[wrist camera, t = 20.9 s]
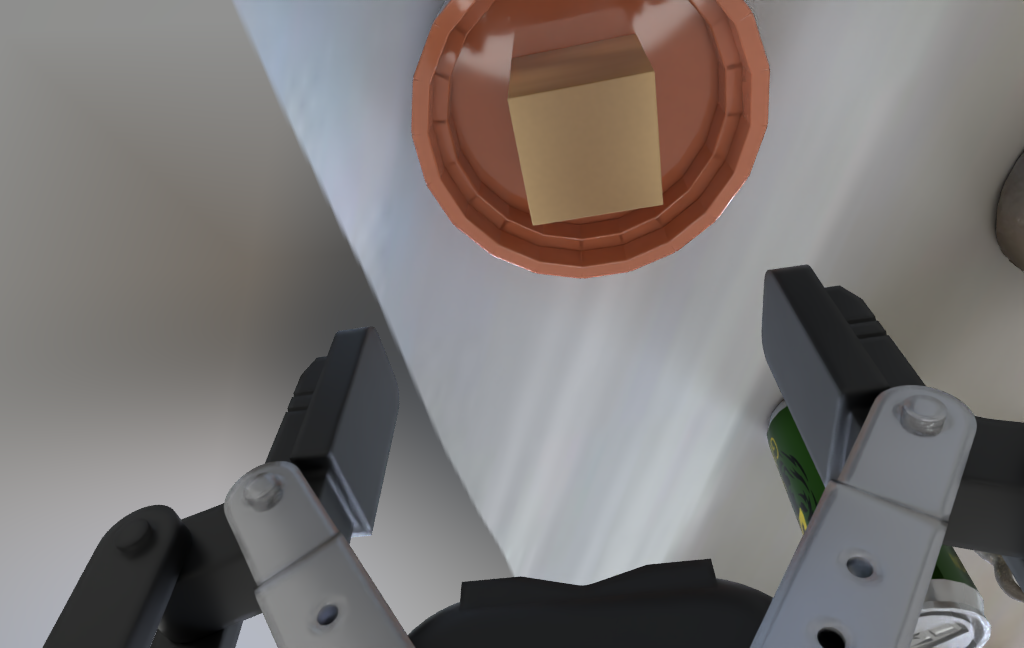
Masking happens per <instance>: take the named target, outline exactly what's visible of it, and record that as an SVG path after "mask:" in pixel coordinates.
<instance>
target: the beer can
mask: <svg viewBox="0 0 1024 648" xmlns="http://www.w3.org/2000/svg"><path fill="white" fill-rule="evenodd" d="M767 438H768V443H769V447H770V449H771V452H772V454H773V457H774V460H775V462H776V465H777V468H778V470H779V473H780V475H781V478H782V481H783V483H784V486H785V489H786V491H787V494H788V496H789V499H790V502H791V504H792V507H793V510H794V512H795V515H796V517H797V520H798V523H799V525H800V528H801V531H802V533H803V534H804V532H805V530H806V528H807V526H808V524H809V522H810V520H811V518H812V516H813V513H814V511H815V509H816V507H817V505H818V503H819V501H820V499H821V497H822V494H823V492H824V490H825V486H824V484H823V482H822V480H821V477H820V475H819V473H818V471H817V469H816V467H815V464H814V462H813V460H812V458H811V456H810V454H809V452H808V449H807V447H806V445H805V443H804V441H803V439H802V436H801V434H800V432H799V430H798V428H797V426H796V423H795V421H794V419H793V417H792V415H791V413H790V411H789V408H788V406H787V404H786V402H785V400H784V401H782V402H781V403H780V404H779V405H778V406H777V407H776V409H775V410H774V411H773V413H772V415H771V418H770V422H769V426H768V431H767ZM990 634H991V625H990V624H989V622H988V620H987V619H986V617H985V616H984V600H983V599H982V597H981V595H980V593H979V592H978V590H977V588H976V587H975V585H974V583H973V581H972V580H971V578H970V576H969V575H968V573H967V571H966V569H965V568H964V566H963V564H962V563H961V561H960V559H959V557H958V556H957V554H956V552H955V551H954V549H953V547H952V546H947V545H941V548H940V552H939V555H938V558H937V561H936V565H935V568H934V571H933V574H932V577H931V581H930V584H929V587H928V590H927V593H926V597H925V600H924V603H923V606H922V610H921V613H920V616H919V619H918V622H917V626H916V629H915V632H914V635H913V639H912V642H911V645H910V648H981V647H982V646H983V645H984V644H985V643H986V641H987V640H988V639H989V638H990Z"/></svg>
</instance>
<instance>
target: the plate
mask: <svg viewBox="0 0 1024 648" xmlns="http://www.w3.org/2000/svg"><path fill="white" fill-rule="evenodd" d="M632 34H636V35H637V37H638V39H639V41H640V43H641V45H642V47H643V49H644V51H645V53H646V55H647V57H648V59H649V61H650V63H651V65H652V67H653V69H654V71H655V84H656V100H657V115H658V131H659V146H660V162H661V177H662V193H663V205H658V206H652V207H646V208H639V209H633V210H627V211H621V212H615V213H608V214H602V215H596V216H590V217H584V218H577V219H571V220H565V221H559V222H553V223H546V224H540V225H533V224H532V220H531V215H530V210H529V205H528V200H527V195H526V190H525V185H524V180H523V175H522V170H521V165H520V160H519V155H518V150H517V145H516V140H515V135H514V130H513V125H512V120H511V115H510V110H509V105H508V100H507V99H508V89H509V79H510V70H511V60H512V58H516V57H521V56H526V55H531V54H536V53H541V52H546V51H551V50H556V49H561V48H566V47H571V46H576V45H581V44H586V43H591V42H596V41H601V40H606V39H611V38H616V37H621V36H627V35H632ZM769 82H770V69H769V63H768V60H767V56H766V53H765V50H764V47H763V44H762V40H761V37H760V34H759V31H758V28H757V24H756V21H755V18H754V15H753V13H752V12H751V9H750V8H749V6H748V5H747V4H746V3H745V1H744V0H446V1H445V2H444V4H443V5H442V7H441V9H440V10H439V12H438V14H437V16H436V18H435V20H434V22H433V24H432V26H431V29H430V32H429V35H428V37H427V40H426V43H425V46H424V48H423V51H422V54H421V57H420V59H419V62H418V65H417V68H416V71H415V73H414V76H413V86H412V122H411V133H412V138H413V142H414V145H415V149H416V152H417V155H418V159H419V162H420V165H421V169H422V172H423V176H424V179H425V182H426V184H427V187H428V188H429V189H430V191H431V192H432V194H433V195H434V197H435V198H436V200H437V201H438V203H439V204H440V206H441V207H442V209H443V210H444V212H445V213H446V214H447V216H448V217H449V219H450V220H451V222H452V223H453V225H455V226H456V227H457V228H458V229H459V230H461V231H462V232H463V233H464V234H466V235H467V236H468V237H469V238H471V239H472V240H473V241H474V242H476V243H477V244H478V245H479V246H481V247H482V248H483V249H484V250H486V251H487V252H488V253H489V254H492V255H493V256H495V257H497V258H500V259H502V260H504V261H507V262H509V263H512V264H514V265H517V266H519V267H521V268H524V269H526V270H529V271H531V272H534V273H535V272H536V273H538V274H546V275H555V276H563V277H572V278H580V279H581V278H591V277H597V276H604V275H611V274H618V273H625V272H629V271H633V270H635V269H638V268H640V267H642V266H645V265H647V264H649V263H652V262H654V261H656V260H659V259H661V258H663V257H666V256H668V255H670V254H673V253H675V251H678V250H679V249H681V248H682V247H683V246H684V245H686V244H687V243H688V242H690V241H691V240H692V239H693V238H695V237H696V236H697V235H699V234H700V233H701V232H702V231H704V230H705V229H706V228H707V227H709V226H710V225H711V224H713V223H714V222H715V221H716V219H718V218H719V216H720V215H721V214H722V212H723V211H724V210H725V208H726V207H727V206H728V204H729V203H730V202H731V200H732V199H733V198H734V196H735V195H736V194H737V192H738V191H739V189H740V188H741V187H742V185H743V184H744V183H745V181H746V180H747V178H748V177H749V175H750V172H751V170H752V167H753V164H754V161H755V159H756V156H757V153H758V151H759V148H760V145H761V142H762V140H763V137H764V134H765V131H766V129H767V124H768V107H769Z"/></svg>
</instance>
